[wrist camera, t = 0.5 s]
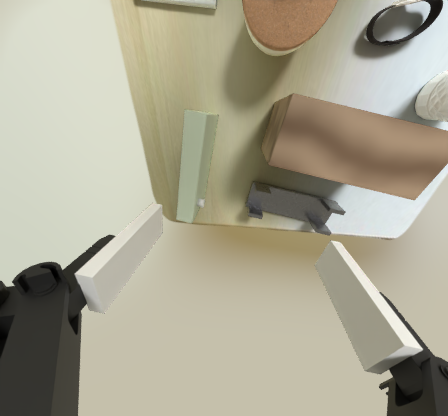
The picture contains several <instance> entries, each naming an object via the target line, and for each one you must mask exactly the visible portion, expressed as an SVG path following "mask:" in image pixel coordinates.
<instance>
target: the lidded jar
mask: <svg viewBox="0 0 448 416" xmlns="http://www.w3.org/2000/svg"><path fill="white" fill-rule="evenodd" d="M337 1H338V0H242V3H243V11H244V18H245V22H246V27H247V30H248V32H249V35H250V37H251V39H252V41H253V42H254V44H255V45H256V46H257V47H258V48H259V49H260V50H261V51H262V52H264V53H266V54H268V55H271V56H282V55H286V54H289V53H291V52H293V51H295V50H297V49H298V48H300V47H301V46H303V45H304V44H305V43H306V42H307V41H308V40H309V39H310V38H311V37H313V36H314V35H315V34H316V33H317V32H318V30H319V29H320V28H321V27H322V26H323V24H324V23H325V22H326V20H327V19H328V17H329V16H330V14H331V13H332V11H333V9H334V7H335V5H336V3H337Z"/></svg>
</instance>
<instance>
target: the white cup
mask: <svg viewBox="0 0 448 416" xmlns="http://www.w3.org/2000/svg"><path fill="white" fill-rule="evenodd" d="M415 109H416V113H417V115H418V116H420V117H421V118H423V119H428V120H440V121H443V122H448V70H447V71H444V72H442V73H440V74H438V75H436V76H435V77H434V78H432V79H431V80H430V81H429V82H428V83H427V84H425V86H424V87H423V89H422V90H421V91H420V93H419V94H418V96H417V100H416V103H415Z"/></svg>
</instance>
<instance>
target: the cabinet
mask: <svg viewBox="0 0 448 416" xmlns="http://www.w3.org/2000/svg"><path fill="white" fill-rule="evenodd" d="M261 150H262V152H263V154H264V157H265V159H266V161H267V163H268V165H270V166H274V167H279V168H283V169H287V170H291V171H295V172H299V173H303V174H308V175H312V176H316V177H320V178H324V179H328V180H332V181H337V182H341V183H345V184H349V185H353V186H357V187H361V188H366V189H370V190H374V191H378V192H382V193H386V194H390V195H395V196H399V197H403V198H407V199H411V200H415V199H416V198H417V197H418V196H419V195H420V194H421V193H422V191H423V190H424V189H425V188H426V187H427V186H428V185H429V184H430V183H431V181H432V180H433V179H434V178H435V177H436V176H437V175H438V174H439V172H440V171H441V170H442V169H443V168H444V167H445V166H446V165H447V164H448V131H446V130H442V129H438V128H434V127H430V126H425V125H421V124H417V123H413V122H409V121H405V120H401V119H397V118H393V117H388V116H384V115H380V114H376V113H372V112H368V111H364V110H360V109H355V108H351V107H347V106H343V105H339V104H335V103H331V102H327V101H322V100H318V99H314V98H310V97H306V96H302V95H298V94H294V93H293V94H291V95H289V96H287V97H285V98H283V99H281V100H279V101H277V102H275V104H274V107H273V110H272V114H271V117H270V120H269V123H268V127H267V130H266V133H265V136H264V140H263V143H262V146H261Z"/></svg>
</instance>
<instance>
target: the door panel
mask: <svg viewBox="0 0 448 416" xmlns="http://www.w3.org/2000/svg"><path fill="white" fill-rule="evenodd" d="M218 116H219V115H216V114H212V113H208V112H203V111H195V110H187V109H185V113H184V126H183V139H182V152H181V166H180V179H179V192H178V205H177V219H176V220H180V221H184V222H188V223H193V221H194V219H195V217H196V215H197V213H198V211H199V209H200V207H202V208H203V207H204V205H205V200H204V199H205V193H206V188H207V182H208V176H209V170H210V164H211V158H212V152H213V146H214V140H215V134H216V128H217V122H218Z"/></svg>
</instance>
